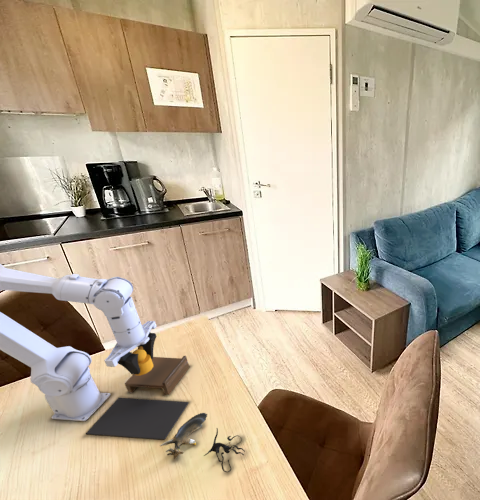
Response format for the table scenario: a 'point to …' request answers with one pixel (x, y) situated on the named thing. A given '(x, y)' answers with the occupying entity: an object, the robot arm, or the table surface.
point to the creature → (226, 449)
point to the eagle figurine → (185, 434)
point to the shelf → (160, 374)
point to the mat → (139, 418)
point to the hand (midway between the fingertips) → (142, 365)
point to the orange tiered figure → (143, 361)
